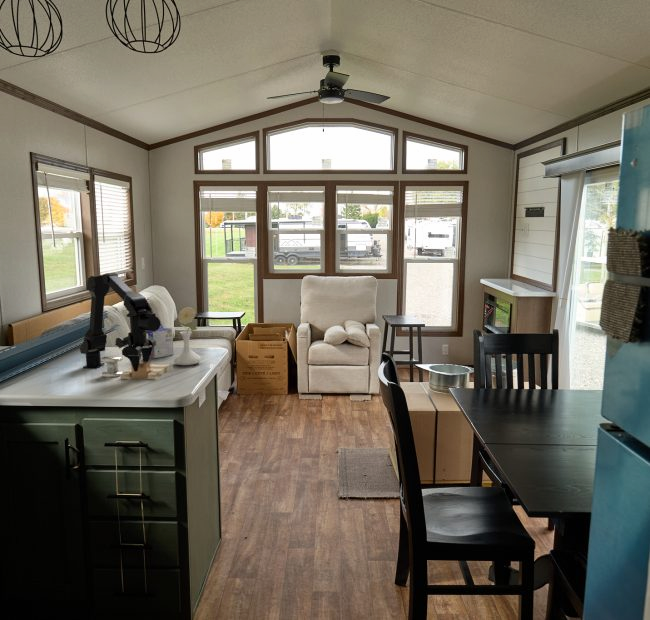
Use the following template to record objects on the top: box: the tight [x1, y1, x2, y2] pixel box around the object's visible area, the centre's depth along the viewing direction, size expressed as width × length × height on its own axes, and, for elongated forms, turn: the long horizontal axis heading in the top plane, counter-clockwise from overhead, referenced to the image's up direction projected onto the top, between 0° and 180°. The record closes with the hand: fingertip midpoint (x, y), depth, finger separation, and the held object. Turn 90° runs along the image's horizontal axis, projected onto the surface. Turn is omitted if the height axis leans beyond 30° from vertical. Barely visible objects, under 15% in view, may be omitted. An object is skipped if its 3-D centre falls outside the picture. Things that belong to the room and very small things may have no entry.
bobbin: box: [101, 355, 124, 379], centre depth 227 cm, size 8×8×7 cm
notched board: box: [120, 363, 172, 380], centre depth 228 cm, size 16×14×2 cm
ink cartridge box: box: [147, 323, 175, 359], centre depth 259 cm, size 10×6×14 cm, turn 135°
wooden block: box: [130, 360, 151, 380], centre depth 223 cm, size 4×6×6 cm, turn 84°
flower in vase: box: [173, 306, 202, 366], centre depth 241 cm, size 13×11×25 cm
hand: (140, 368), depth 223 cm, fingers open, 9 cm apart
